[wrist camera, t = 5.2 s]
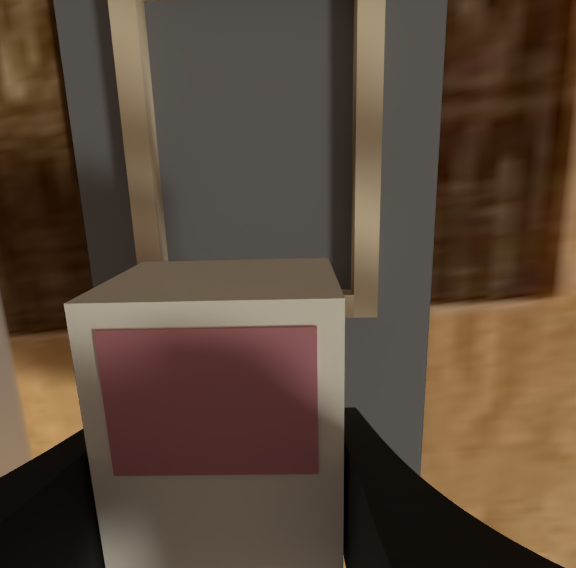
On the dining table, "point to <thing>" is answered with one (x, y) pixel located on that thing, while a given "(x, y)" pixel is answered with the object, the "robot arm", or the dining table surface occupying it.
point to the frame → (365, 142)
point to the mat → (275, 160)
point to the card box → (215, 412)
